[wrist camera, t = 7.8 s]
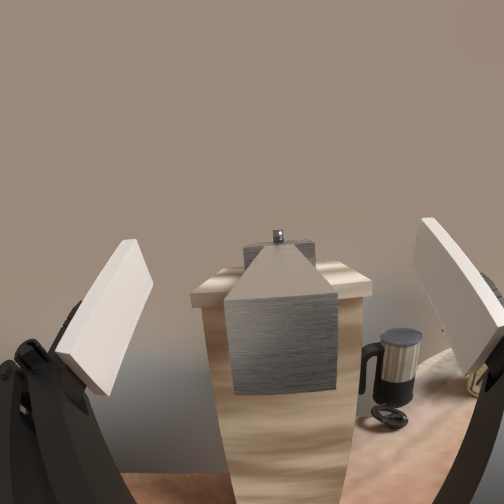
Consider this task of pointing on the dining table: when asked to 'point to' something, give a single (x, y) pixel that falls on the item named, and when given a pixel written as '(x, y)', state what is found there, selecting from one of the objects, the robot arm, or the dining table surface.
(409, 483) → the dining table surface
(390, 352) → the milk frother
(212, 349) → the beige zigzag tall box
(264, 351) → the brushed metal bar
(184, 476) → the dining table surface
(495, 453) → the robot arm
